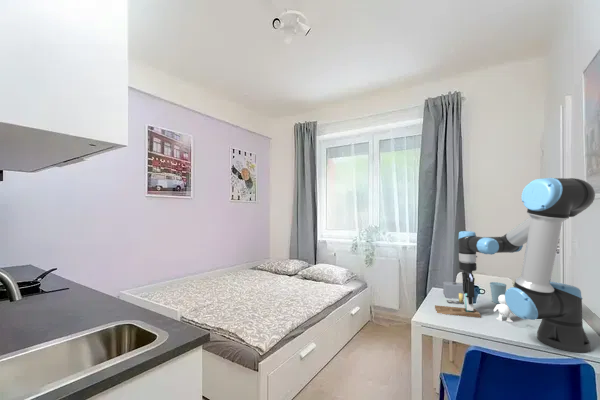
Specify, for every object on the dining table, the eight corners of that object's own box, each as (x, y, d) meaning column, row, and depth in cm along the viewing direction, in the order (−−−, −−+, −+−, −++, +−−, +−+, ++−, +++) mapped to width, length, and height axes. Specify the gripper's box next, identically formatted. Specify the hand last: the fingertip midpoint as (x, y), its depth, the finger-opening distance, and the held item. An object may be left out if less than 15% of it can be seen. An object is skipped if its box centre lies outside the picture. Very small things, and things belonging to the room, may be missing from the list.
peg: (473, 315, 138) (472, 295, 139) (466, 314, 139) (465, 294, 140) (471, 313, 141) (471, 293, 142) (464, 312, 142) (464, 292, 143)
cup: (509, 303, 156) (508, 284, 156) (503, 305, 152) (503, 286, 152) (493, 299, 162) (493, 281, 163) (488, 302, 158) (487, 283, 158)
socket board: (480, 317, 135) (480, 314, 135) (437, 313, 141) (437, 310, 141) (475, 311, 143) (475, 308, 143) (434, 308, 149) (434, 305, 149)
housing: (466, 299, 163) (466, 284, 163) (445, 297, 166) (445, 283, 166) (463, 295, 170) (463, 281, 171) (443, 293, 174) (443, 280, 174)
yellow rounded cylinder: (464, 304, 154) (464, 294, 155) (447, 302, 157) (447, 293, 157) (463, 302, 158) (462, 292, 158) (446, 300, 160) (446, 291, 160)
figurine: (514, 320, 132) (513, 294, 132) (515, 324, 128) (515, 297, 128) (493, 317, 136) (492, 292, 136) (494, 320, 132) (493, 295, 132)
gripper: (481, 265, 132) (482, 315, 131) (471, 259, 148) (472, 304, 147) (463, 264, 134) (464, 313, 134) (455, 258, 150) (456, 302, 150)
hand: (468, 308), depth 140 cm, fingers open, 4 cm apart
